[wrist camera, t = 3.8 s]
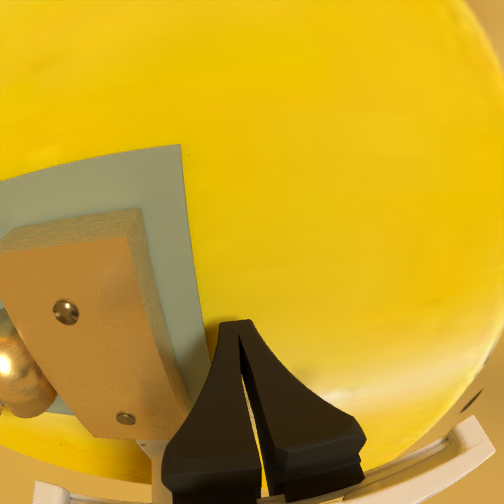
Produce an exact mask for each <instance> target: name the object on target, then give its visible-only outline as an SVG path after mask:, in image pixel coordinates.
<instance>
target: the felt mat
mask: <svg viewBox="0 0 504 504" xmlns="http://www.w3.org/2000/svg"><path fill="white" fill-rule="evenodd" d="M139 207H141V210H142V216H143V221H144V227H145V232H146V237H147V242H148V247H149V252H150V257H151V262H152V266H153V271H154V275H155V280H156V284H157V288H158V292H159V296H160V300H161V304H162V308H163V312H164V316H165V320H166V324H167V327H168V331H169V334H170V338H171V341H172V345H173V348H174V352H175V355H176V358H177V362H178V365H179V368H180V371H181V375H182V378H183V381H184V384H185V387H186V390H187V393H188V396H189V399H190V402H191V410H192V408H193V406H194V404H195V402H196V400H197V398H198V396H199V394H200V392H201V390H202V388H203V386H204V383H205V381H206V378H207V376H208V373H209V370H210V367H211V362H210V357H209V351H208V346H207V341H206V335H205V329H204V324H203V318H202V312H201V306H200V300H199V294H198V287H197V281H196V274H195V267H194V260H193V253H192V246H191V238H190V230H189V222H188V214H187V206H186V197H185V187H184V177H183V167H182V156H181V145H180V144H177V145H168V146H160V147H153V148H146V149H139V150H133V151H127V152H121V153H115V154H110V155H104V156H99V157H94V158H89V159H84V160H80V161H75V162H71V163H66V164H62V165H58V166H54V167H50V168H46V169H42V170H38V171H35V172H31V173H27V174H24V175H21V176H17V177H14V178H11V179H7V180H4V181H1V182H0V240H1V239H2V238H3V237H5V236H6V235H7V234H8V233H9V232H10V231H11V230H12V229H13V228H18V227H23V226H28V225H33V224H38V223H43V222H49V221H54V220H60V219H66V218H72V217H78V216H84V215H90V214H97V213H104V212H110V211H117V210H125V209H132V208H139ZM3 308H5V307H4V305H3V303H2V301H1V299H0V309H3ZM45 412H50V413H57V414H66V415H75V414H74V413H73V412H72V411H71V410H70V408H69V407H68V406H67V405H66V403H65V402H64V401H63V399H62V398H61V397H60V396H59V394H58V395H57V397H56V399H55V401H54V403H53V404H52V405H51V406H50V407H49V408H48V409H47V410H46V411H45Z"/></svg>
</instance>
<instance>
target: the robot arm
mask: <svg viewBox="0 0 504 504" xmlns="http://www.w3.org/2000/svg"><path fill="white" fill-rule="evenodd" d="M241 374H242V376H241ZM242 377H243V381H244V384H245V388H246V391H247V395H248V398H249V401H250V405H251V408H252V412H253V415H254V419H255V424H256V429H257V434H258V439H259V444H260V449H261V455H262V460H263V465H264V470H265V475H266V481H267V486H268V491H269V497H264V498H261V487H262V466H261V461H260V457H259V452H258V448H257V444H256V441H255V437H254V433H253V429H252V425H251V420H250V416H249V412H248V407H247V403H246V398H245V393H244V389H243V384H242ZM366 440H367V439H366V436H365V434H364V432H363V430H362V428H361V427H360V425H359V423H358V422H357V421H356V419H355V418H354V417H353V416H351V415H349V414H347V413H345V412H343V411H341V410H339V409H338V408H336V407H334V406H333V405H331V404H329V403H328V402H326V401H325V400H323V399H322V398H320V397H319V396H318V395H316V394H315V393H314V392H312V391H311V390H310V389H308V388H307V387H306V386H305V385H303V384H302V383H301V382H300V381H299V380H298V379H297V378H296V377H294V376H293V375H292V374H291V373H290V372H289V371H288V370H287V369H286V368H285V366H284V365H283V364H282V363H281V362H280V361H279V360H278V359H277V357H276V356H275V355H274V354H273V352H272V351H271V350H270V349H269V347H268V346H267V345H266V343H265V342H264V340H263V339H262V337H261V336H260V334H259V333H258V331H257V329H256V328H255V326H254V324H253V322H252V320H250V319H246V320H238V321H229V322H221V323H220V324H219V335H218V341H217V346H216V350H215V354H214V358H213V361H212V364H211V367H210V370H209V373H208V376H207V378H206V381H205V383H204V386H203V388H202V390H201V392H200V394H199V396H198V398H197V400H196V402H195V404H194V406H193V408H192V410H191V411H190V413H189V414H188V416H187V418H186V419H185V421H184V422H183V424H182V425H181V427H180V428H179V430H178V431H177V432H176V434H175V435H174V436H173V437H172V439H171V440H135V441H136V443H137V444H138V445H139V447H140V448H141V449H142V450H143V452H144V453H145V454H146V455H147V456H148V458H149V459H150V460H151V461H152V503H137V502H136V503H135V502H125V501H117V500H109V499H102V498H96V497H89V496H84V495H79V494H74V493H70V492H69V491H68V490H66V489H65V488H63V487H60V486H58V485H54V484H51V483H47V482H42V481H40V480H36V481H35V487H34V494H33V502H32V504H318V503H322V502H325V501H329V500H333V499H336V498H339V497H342V496H344V497H343V500H342V501H333V502H329V503H325V504H419V503H421V502H423V501H425V500H427V499H428V498H430V497H432V496H434V495H435V494H437V493H439V492H440V491H442V490H444V489H445V488H447V487H449V486H450V485H452V484H453V483H455V482H456V481H458V480H459V479H461V478H463V477H464V476H465V475H467V474H468V473H470V472H471V471H472V470H474V469H475V468H476V467H478V466H479V465H480V464H481V463H483V462H484V461H485V460H487V458H489V457H490V456H491V455H492V454H494V453H495V448H494V447H493V445H492V444H491V442H490V440H489V439H488V437H487V435H486V434H485V432H484V430H483V429H482V427H481V426H480V424H479V422H478V421H477V419H476V418H475V416H474V415H471V416H469V417H467V418H466V419H464V420H462V421H461V422H459V423H458V424H456V425H455V426H453V427H452V428H451V429H450V431H448V433H447V434H446V435H445V436H443V437H441V438H439V439H437V440H435V441H433V442H432V443H430V444H428V445H426V446H424V447H422V448H420V449H418V450H415V451H413V452H411V453H409V454H407V455H405V456H402V457H400V458H398V459H396V460H393V461H391V462H388V463H386V464H383V465H381V466H378V467H376V468H373V469H370V470H368V471H365V472H363V471H362V468H361V466H360V462H361V459H360V456H359V454H358V453H359V452H360V450H361V449H362V447H363V446H364V444H365V442H366ZM345 495H346V496H345Z"/></svg>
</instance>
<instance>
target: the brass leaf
mask: <svg viewBox="0 0 504 504" xmlns="http://www.w3.org/2000/svg"><path fill="white" fill-rule="evenodd" d="M0 299H1V301H2V303H3V305H4V307H5V308H3V309H0V401H1V402H2V403H3V404H4V405H5V407H6V408H7V409H8V410H9V411H10V412H11V413H12V414H13V415H15V416H17V417H20V418H33V417H36V416H38V415H40V414H42V413H43V412H45V411H46V410H47V409H48V408H49V407H50V406H51V405H52V404H53V403H54V401H55V399H56V397H57V395H58V394H59V396H60V397H61V398H62V399H63V401H64V402H65V403H66V405H67V406H68V407H69V408H70V410H71V411H72V412H73V413H74V414H75V416H76V417H77V418H78V419H79V420H80V422H81V423H82V424H83V425H84V426H85V427H86V429H87V430H88V431H89V432H90V433H91V434H92V435H93V436H94V437H96V438H109V439H127V440H171V439H172V437H173V436H174V435H175V434H176V432H177V431H178V430H179V428H180V427H181V425H182V424H183V422H184V421H185V419H186V418H187V416H188V414H189V413H190V411H191V402H190V399H189V396H188V393H187V390H186V387H185V384H184V381H183V378H182V375H181V371H180V368H179V365H178V362H177V358H176V355H175V352H174V348H173V345H172V341H171V338H170V334H169V331H168V327H167V324H166V320H165V316H164V312H163V308H162V304H161V300H160V296H159V292H158V288H157V284H156V280H155V275H154V271H153V266H152V262H151V257H150V252H149V247H148V242H147V237H146V232H145V227H144V221H143V216H142V210H141V207H139V208H132V209H125V210H117V211H110V212H104V213H97V214H90V215H84V216H78V217H72V218H66V219H60V220H54V221H49V222H43V223H38V224H33V225H28V226H23V227H18V228H13V229H12V230H11V231H10V232H9V233H8V234H7V235H6V236H5V237H3V238H2V239H1V240H0Z"/></svg>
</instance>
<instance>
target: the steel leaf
mask: <svg viewBox="0 0 504 504" xmlns="http://www.w3.org/2000/svg"><path fill="white" fill-rule="evenodd" d="M2 409H3V403H2V402H1V401H0V415H1V413H2Z"/></svg>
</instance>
